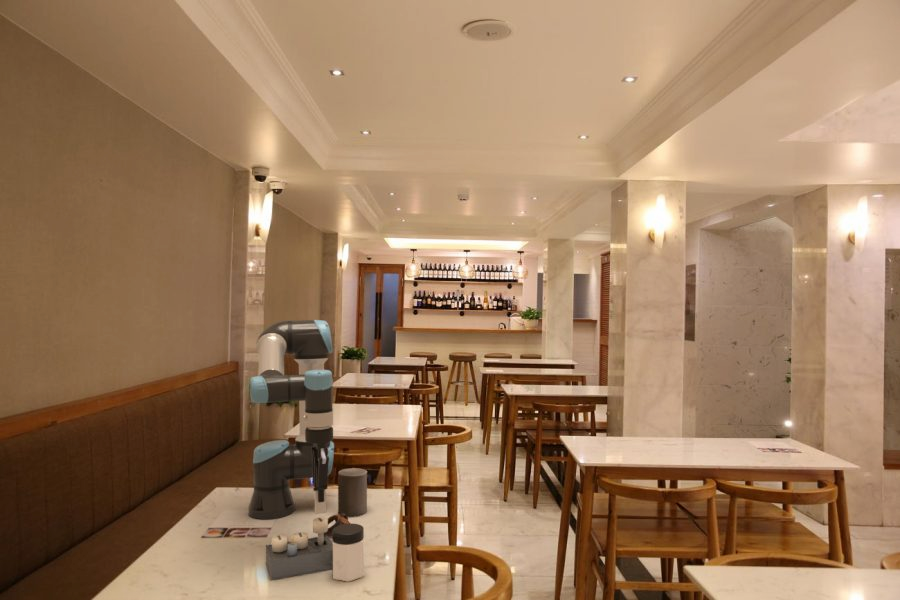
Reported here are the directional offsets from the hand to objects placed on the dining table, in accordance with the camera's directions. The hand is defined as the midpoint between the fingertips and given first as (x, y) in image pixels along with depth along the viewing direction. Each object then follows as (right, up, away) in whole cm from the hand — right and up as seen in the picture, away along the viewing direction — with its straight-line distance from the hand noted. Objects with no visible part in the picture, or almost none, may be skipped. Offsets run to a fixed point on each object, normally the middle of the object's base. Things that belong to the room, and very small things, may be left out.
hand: (320, 512), depth 172 cm
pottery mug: (+2, -14, +17) cm, 22 cm away
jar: (+9, -14, -8) cm, 18 cm away
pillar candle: (+3, -14, +40) cm, 42 cm away
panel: (-5, -14, -2) cm, 15 cm away
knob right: (0, -10, 0) cm, 10 cm away
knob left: (-10, -13, -4) cm, 17 cm away
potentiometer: (-6, -9, -7) cm, 12 cm away
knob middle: (-5, -13, -2) cm, 14 cm away
